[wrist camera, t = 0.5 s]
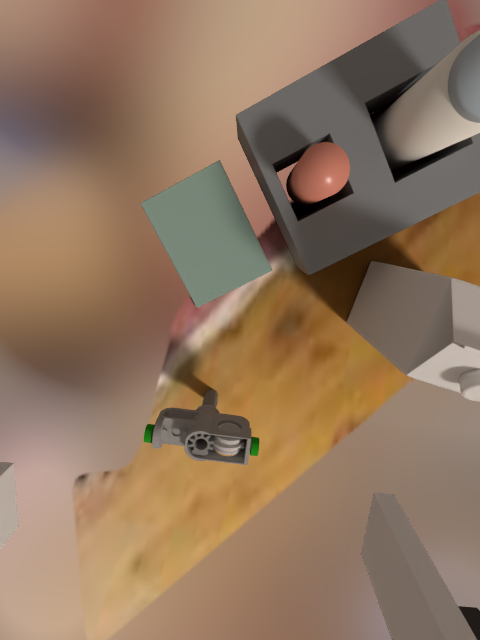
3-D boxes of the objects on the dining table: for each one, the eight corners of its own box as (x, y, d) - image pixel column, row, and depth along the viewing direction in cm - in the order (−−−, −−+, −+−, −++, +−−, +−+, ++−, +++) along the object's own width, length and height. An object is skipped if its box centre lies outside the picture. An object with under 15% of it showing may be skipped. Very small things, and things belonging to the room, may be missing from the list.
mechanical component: (168, 378, 40) (144, 424, 31) (257, 389, 41) (260, 438, 31) (166, 402, 41) (142, 454, 31) (253, 412, 41) (255, 467, 32)
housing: (238, 138, 34) (236, 115, 28) (403, 46, 32) (445, -4, 25) (297, 267, 37) (309, 275, 30) (453, 191, 35) (502, 180, 28)
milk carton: (370, 259, 37) (494, 286, 18) (433, 280, 37) (616, 326, 19) (345, 322, 39) (436, 403, 20) (405, 341, 39) (548, 438, 21)
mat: (141, 203, 36) (140, 203, 36) (219, 160, 35) (219, 160, 34) (197, 307, 38) (196, 307, 38) (272, 269, 37) (272, 270, 37)
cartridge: (351, 132, 34) (439, 48, 19) (400, 106, 33) (533, -4, 18) (370, 181, 35) (469, 140, 20) (418, 157, 34) (559, 94, 19)
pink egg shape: (279, 175, 32) (289, 157, 25) (316, 155, 31) (337, 132, 24) (296, 212, 33) (310, 206, 25) (332, 193, 32) (357, 182, 25)
